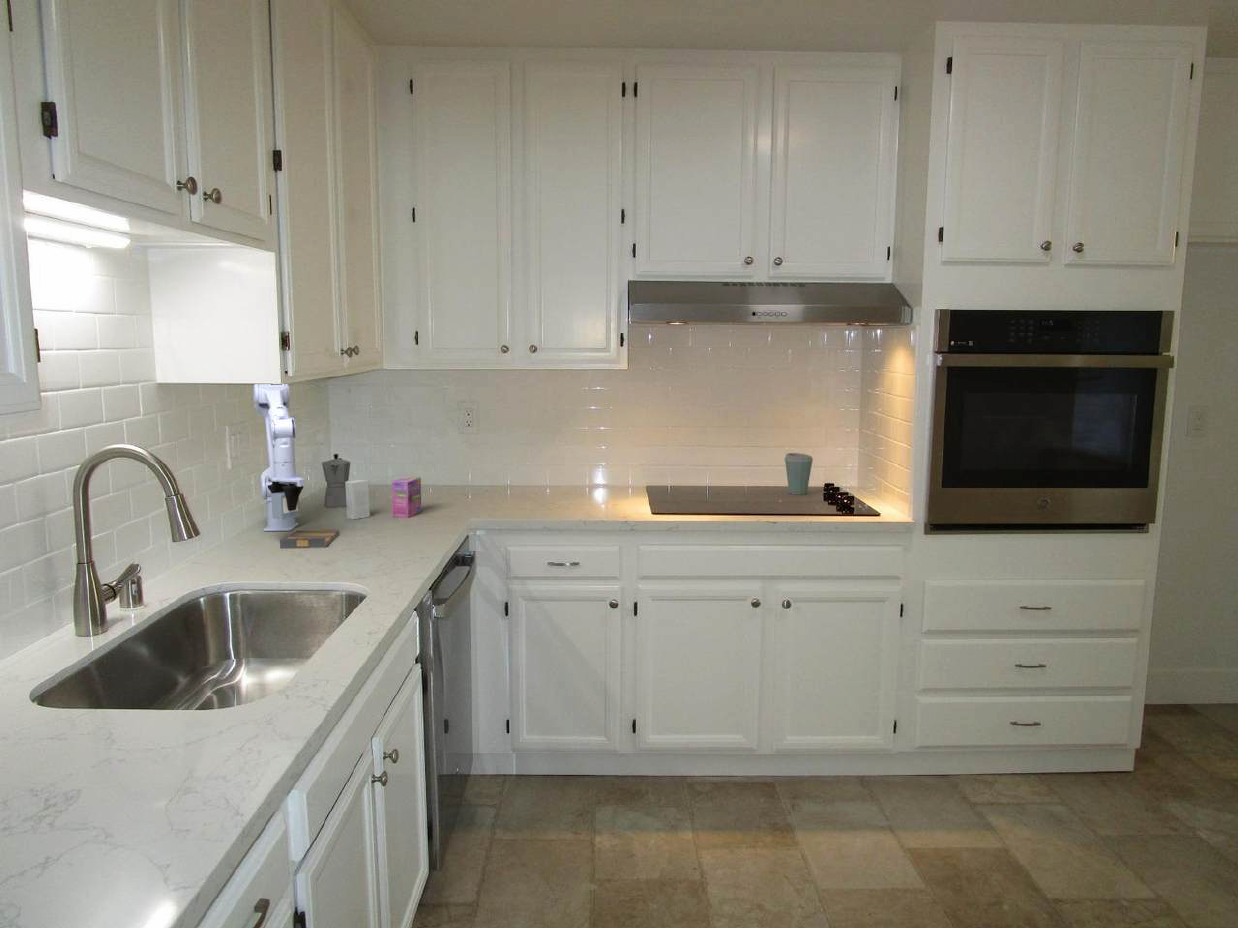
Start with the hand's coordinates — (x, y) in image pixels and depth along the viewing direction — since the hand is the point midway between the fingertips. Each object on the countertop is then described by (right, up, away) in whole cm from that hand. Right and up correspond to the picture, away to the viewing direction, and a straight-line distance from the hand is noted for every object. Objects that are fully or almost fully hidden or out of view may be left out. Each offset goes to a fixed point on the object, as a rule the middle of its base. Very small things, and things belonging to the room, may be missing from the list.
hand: (286, 509), depth 242 cm
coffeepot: (-3, -2, +55) cm, 55 cm away
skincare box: (+10, -5, +33) cm, 35 cm away
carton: (0, -2, 0) cm, 2 cm away
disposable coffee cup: (+162, +1, +82) cm, 181 cm away
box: (+25, -4, +39) cm, 46 cm away
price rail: (+7, -10, -7) cm, 14 cm away
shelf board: (+7, -9, +1) cm, 11 cm away
